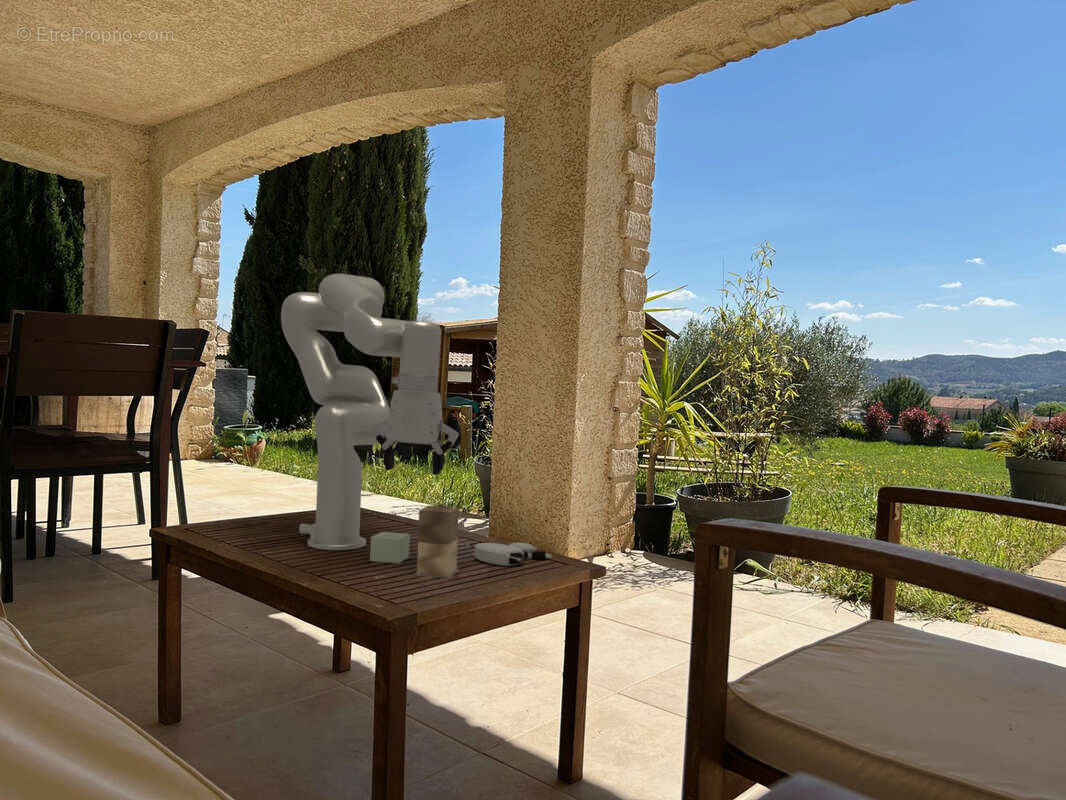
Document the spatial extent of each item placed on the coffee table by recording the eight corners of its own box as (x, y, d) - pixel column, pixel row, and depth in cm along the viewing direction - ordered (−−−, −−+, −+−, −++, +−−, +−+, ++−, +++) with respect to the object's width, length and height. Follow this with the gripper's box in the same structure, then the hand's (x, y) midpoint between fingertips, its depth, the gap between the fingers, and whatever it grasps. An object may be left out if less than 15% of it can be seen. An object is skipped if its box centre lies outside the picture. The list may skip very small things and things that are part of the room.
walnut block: (417, 542, 149) (419, 510, 148) (427, 536, 154) (428, 505, 154) (448, 544, 148) (450, 512, 147) (457, 538, 153) (458, 507, 153)
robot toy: (513, 559, 175) (462, 563, 164) (515, 538, 175) (464, 541, 164) (554, 570, 166) (503, 575, 155) (556, 548, 166) (505, 551, 156)
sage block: (369, 567, 158) (371, 537, 158) (380, 560, 164) (381, 531, 164) (398, 569, 157) (400, 539, 157) (408, 563, 163) (409, 534, 162)
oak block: (416, 574, 149) (418, 542, 149) (426, 566, 155) (427, 536, 154) (447, 576, 148) (449, 544, 148) (456, 569, 154) (457, 538, 153)
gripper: (369, 381, 153) (363, 470, 154) (455, 388, 150) (450, 478, 151) (382, 381, 160) (377, 465, 161) (465, 387, 158) (460, 473, 158)
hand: (412, 471), depth 156 cm, fingers open, 9 cm apart
